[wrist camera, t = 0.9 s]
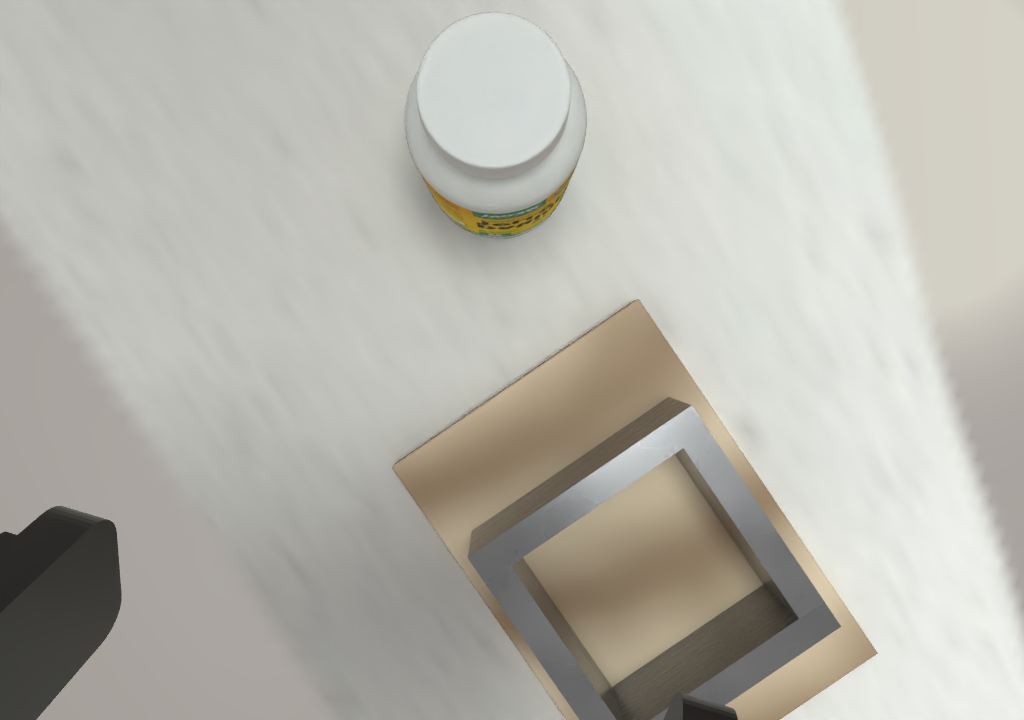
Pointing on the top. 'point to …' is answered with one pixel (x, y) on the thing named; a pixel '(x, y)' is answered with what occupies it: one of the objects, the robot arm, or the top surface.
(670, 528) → the birch board
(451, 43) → the supplement bottle
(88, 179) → the top surface
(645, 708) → the metal sleeve
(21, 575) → the robot arm
